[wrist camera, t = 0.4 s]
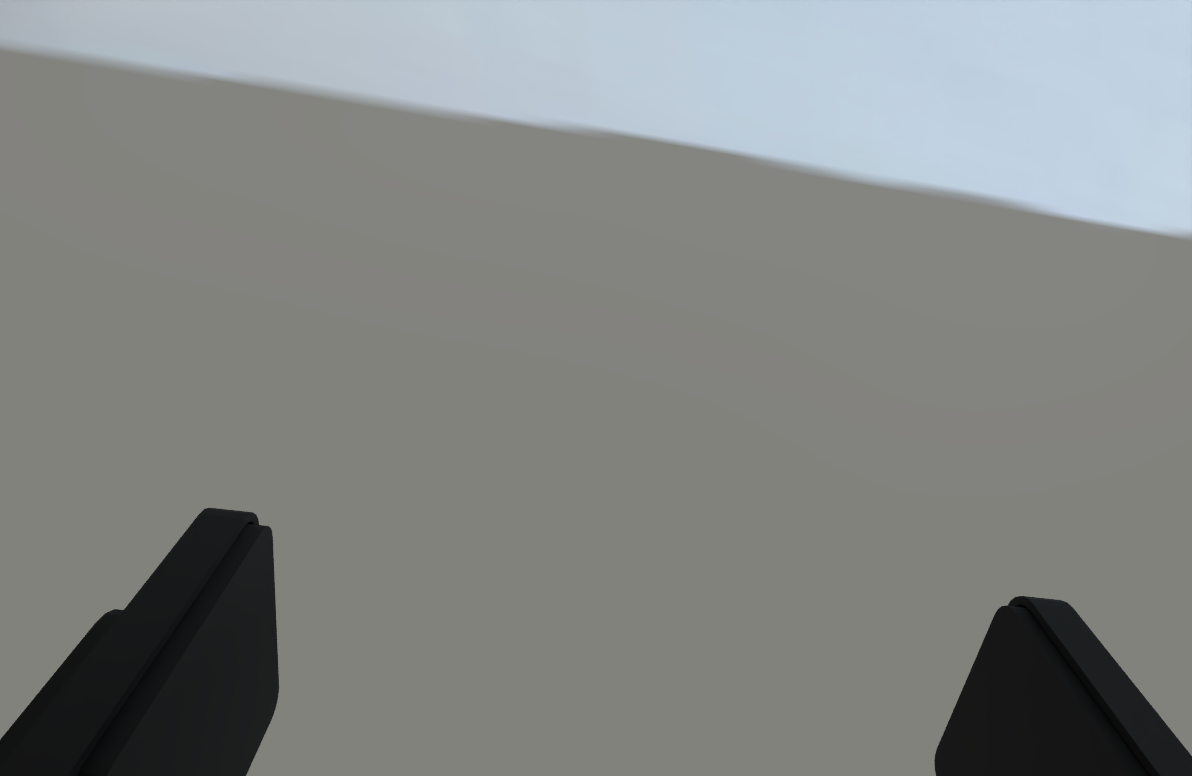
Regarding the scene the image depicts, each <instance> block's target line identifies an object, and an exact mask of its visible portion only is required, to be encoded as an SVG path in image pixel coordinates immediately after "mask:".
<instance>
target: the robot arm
mask: <svg viewBox="0 0 1192 776" xmlns="http://www.w3.org/2000/svg"><path fill="white" fill-rule="evenodd" d="M278 692H279V677H278V654H277V629H276V606H275V582H274V559H273V536H272V530H271V528H270V527H269V526H261V525H259V521H258V518H257V516H256V514H254V513H252V512H242V511H234V510H225V509H216V508H207V509H204V510H203V511H202V512H201V513H200V514H199V515H198V516H197V518H196V519H195V520H194V522H193V523H192V524H191V525H190V527H189V528H188V530H187V531H186V532H185V533H184V534H183V536H182V537H181V538H180V539H179V541H178V542H177V543H176V545H175V546H174V547H173V548H172V550H171V551H170V552H169V553H168V555H167V556H166V557H165V558H164V560H163V561H162V562H161V564H160V565H159V566H158V567H157V569H156V570H155V571H154V572H153V574H152V575H151V576H150V578H149V579H148V580H147V581H146V583H145V584H144V585H143V586H142V588H141V589H140V590H139V592H138V593H137V594H136V595H135V597H134V598H133V599H132V600H131V602H130V603H129V604H128V606H127V607H126V608H125V609H124V610H117V609H114V610H112V611H110V612H107V613H105V614H104V615H103V616H102V617H101V618H100V619H99V620H98V621H97V622H96V623H95V624H94V626H93V627H92V628H91V629H90V630H89V632H88V633H87V634H86V635H85V637H84V638H83V639H82V640H81V641H80V643H79V644H78V645H77V646H76V648H75V649H74V650H73V651H72V653H71V654H70V655H69V656H68V657H67V659H66V660H65V661H64V662H63V664H62V665H61V666H60V667H59V668H58V670H57V671H56V672H55V673H54V675H53V676H52V677H51V678H50V680H49V681H48V682H47V683H46V684H45V686H44V687H43V688H42V689H41V691H40V692H39V693H38V694H37V695H36V697H35V698H34V699H33V700H32V702H31V703H30V704H29V705H28V706H27V708H26V709H25V710H24V711H23V713H22V714H21V715H20V716H19V717H18V719H17V720H16V721H15V722H14V724H13V725H12V726H11V727H10V729H9V730H8V731H7V732H6V734H5V735H4V736H3V737H2V738H1V740H0V776H246V774H247V772H248V770H249V768H250V765H251V763H252V761H253V759H254V757H255V755H256V752H257V750H258V748H259V746H260V743H261V741H262V739H263V737H264V735H265V733H266V730H267V728H268V726H269V724H270V722H271V719H272V717H273V714H274V711H275V708H276V704H277V699H278ZM935 771H936V776H1192V756H1191V755H1190V754H1189V752H1188V751H1187V750H1186V748H1185V747H1184V746H1183V745H1182V743H1181V742H1180V741H1179V740H1178V738H1177V737H1176V736H1175V735H1174V733H1173V732H1172V731H1171V730H1170V728H1169V727H1168V726H1167V725H1166V723H1165V722H1164V721H1163V720H1162V719H1161V717H1160V716H1159V715H1158V713H1157V712H1156V711H1155V710H1154V708H1153V707H1152V706H1151V705H1150V704H1149V702H1148V701H1147V700H1146V698H1145V697H1144V696H1143V695H1142V693H1141V692H1140V691H1139V690H1138V688H1137V687H1136V686H1135V685H1134V683H1133V682H1132V681H1131V680H1130V678H1129V677H1128V676H1127V675H1126V674H1125V672H1124V671H1123V670H1122V668H1121V667H1120V666H1119V665H1118V663H1117V662H1116V661H1115V660H1114V659H1113V657H1112V656H1111V655H1110V653H1109V652H1108V651H1107V650H1106V649H1105V647H1104V646H1103V645H1102V644H1101V642H1100V641H1099V640H1098V639H1097V637H1096V636H1095V635H1094V634H1093V632H1092V631H1091V630H1090V629H1089V627H1088V626H1087V625H1086V624H1085V622H1084V621H1083V620H1082V619H1081V617H1080V616H1079V615H1078V614H1077V612H1076V611H1075V610H1074V609H1073V608H1072V607H1071V606H1070V605H1069V604H1068V603H1067V602H1064V601H1061V600H1053V599H1044V598H1035V597H1025V596H1019V597H1015V598H1014V599H1012V600H1011V601H1010V603H1009V605H1008V606H1002V607H1000V608H999V609H998V610H997V612H996V613H995V615H994V618H993V620H992V622H991V624H990V627H989V629H988V631H987V634H986V636H985V638H984V641H983V643H982V646H981V648H980V650H979V652H978V655H977V657H976V660H975V662H974V664H973V666H972V669H971V671H970V673H969V676H968V678H967V680H966V683H965V685H964V687H963V690H962V692H961V694H960V696H959V699H958V701H957V704H956V706H955V708H954V710H953V713H952V715H951V718H950V720H949V722H948V725H947V727H946V729H945V731H944V734H943V736H942V738H941V741H940V743H939V745H938V748H937V750H936V754H935Z"/></svg>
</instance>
